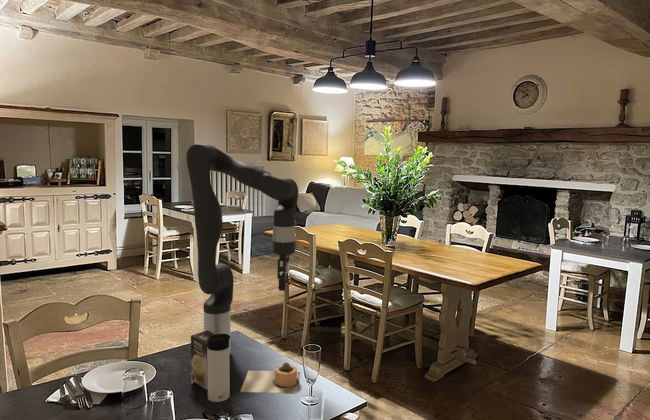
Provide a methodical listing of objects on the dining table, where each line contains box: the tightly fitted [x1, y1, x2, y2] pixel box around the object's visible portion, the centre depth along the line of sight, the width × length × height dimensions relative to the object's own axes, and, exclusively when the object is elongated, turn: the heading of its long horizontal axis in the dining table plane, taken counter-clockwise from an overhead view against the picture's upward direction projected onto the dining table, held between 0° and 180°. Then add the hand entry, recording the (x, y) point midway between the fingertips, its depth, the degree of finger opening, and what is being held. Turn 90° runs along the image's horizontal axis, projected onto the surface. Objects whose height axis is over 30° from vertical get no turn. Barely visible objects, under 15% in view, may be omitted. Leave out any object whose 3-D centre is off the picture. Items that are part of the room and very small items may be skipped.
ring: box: [274, 364, 298, 387], centre depth 149 cm, size 6×6×4 cm
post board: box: [239, 362, 301, 395], centre depth 149 cm, size 17×14×8 cm
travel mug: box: [207, 334, 231, 403], centre depth 138 cm, size 6×7×20 cm
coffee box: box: [190, 330, 216, 391], centre depth 148 cm, size 9×6×16 cm
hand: (283, 286), depth 160 cm, fingers open, 8 cm apart
